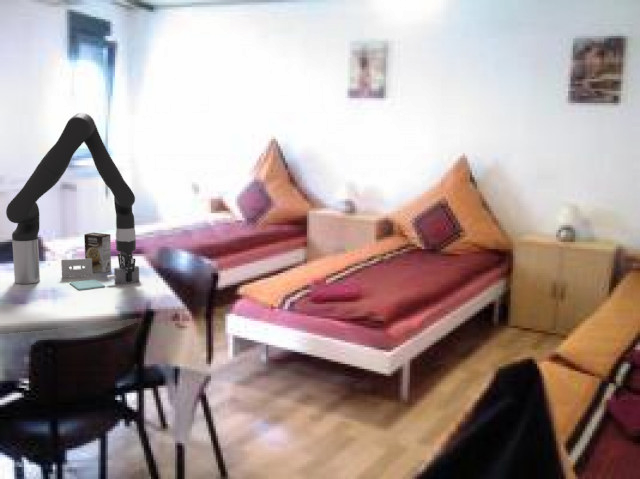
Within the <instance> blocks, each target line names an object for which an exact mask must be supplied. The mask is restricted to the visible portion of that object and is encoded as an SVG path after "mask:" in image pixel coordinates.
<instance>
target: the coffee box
mask: <svg viewBox="0 0 640 479" xmlns="http://www.w3.org/2000/svg"><path fill="white" fill-rule="evenodd" d="M83 236H84V259H89V258H91V259H92V271H93V273H99V274H104V273H107V272H111V271H112V252H111V251H112V250H111V246H112V245H111V243H112V242H111V234H110V233H103V232H101V233H100V232H89V233H85V234H84V235H83Z"/></svg>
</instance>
